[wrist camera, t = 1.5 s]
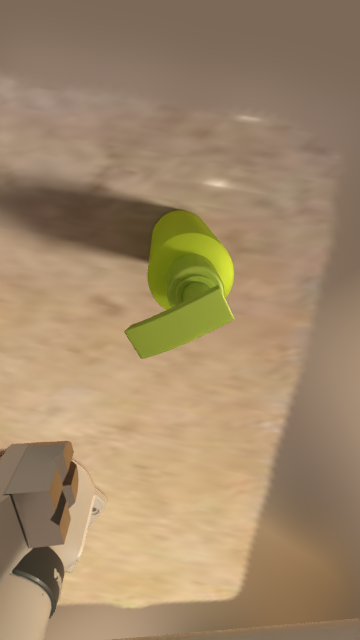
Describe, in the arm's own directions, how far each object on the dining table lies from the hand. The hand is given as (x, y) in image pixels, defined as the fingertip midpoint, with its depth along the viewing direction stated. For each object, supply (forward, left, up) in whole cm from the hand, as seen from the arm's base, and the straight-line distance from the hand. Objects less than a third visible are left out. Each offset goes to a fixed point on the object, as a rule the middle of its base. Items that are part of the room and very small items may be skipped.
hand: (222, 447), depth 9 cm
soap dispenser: (0, 0, -29) cm, 29 cm away
